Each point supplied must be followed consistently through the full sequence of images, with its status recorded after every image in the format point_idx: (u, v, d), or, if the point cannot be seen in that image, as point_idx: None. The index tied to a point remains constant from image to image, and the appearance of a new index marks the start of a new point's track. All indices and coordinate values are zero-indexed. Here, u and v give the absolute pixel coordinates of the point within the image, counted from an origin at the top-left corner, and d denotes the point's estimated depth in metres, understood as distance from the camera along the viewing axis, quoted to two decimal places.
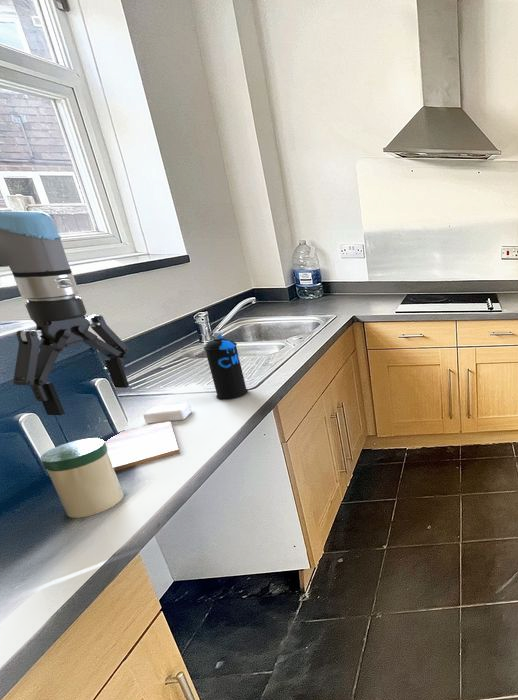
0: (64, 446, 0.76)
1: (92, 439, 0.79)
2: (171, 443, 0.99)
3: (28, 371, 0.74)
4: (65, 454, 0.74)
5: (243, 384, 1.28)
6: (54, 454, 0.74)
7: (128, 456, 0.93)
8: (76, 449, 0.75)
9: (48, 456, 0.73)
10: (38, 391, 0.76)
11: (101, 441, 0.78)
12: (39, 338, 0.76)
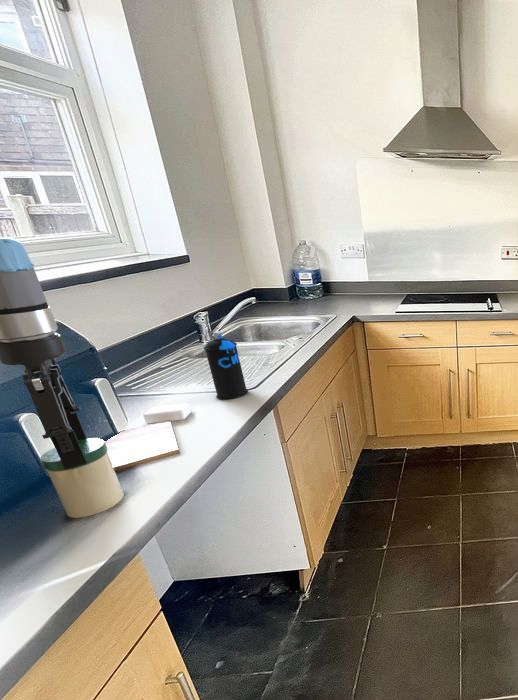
0: None
1: (92, 439, 0.79)
2: (171, 443, 0.99)
3: None
4: None
5: (243, 384, 1.28)
6: (54, 454, 0.74)
7: (128, 456, 0.93)
8: None
9: (48, 457, 0.73)
10: None
11: (101, 441, 0.78)
12: None
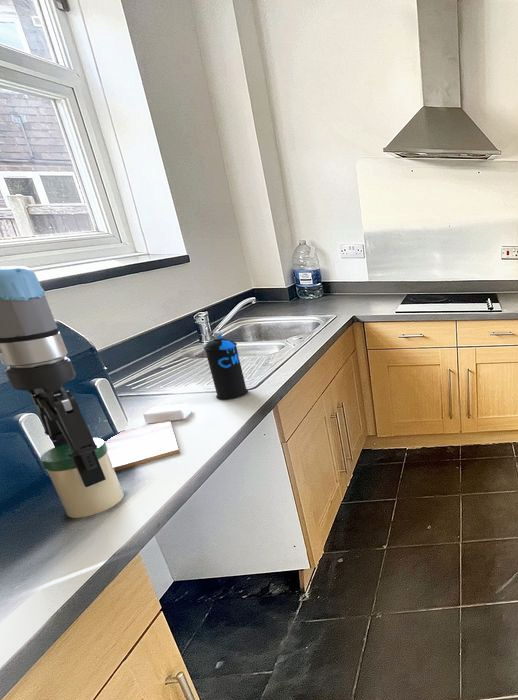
0: (58, 448, 0.75)
1: None
2: (171, 443, 0.99)
3: (42, 423, 0.76)
4: (69, 453, 0.74)
5: (243, 384, 1.28)
6: (55, 455, 0.73)
7: (128, 456, 0.93)
8: None
9: (50, 458, 0.72)
10: None
11: (99, 439, 0.79)
12: None
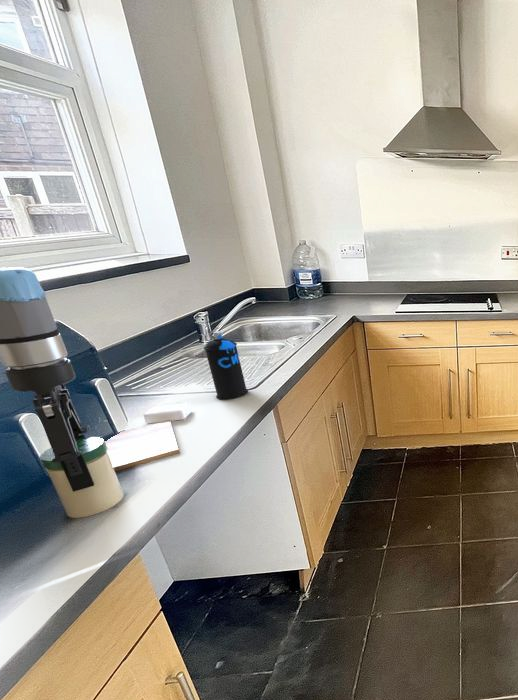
0: (51, 455, 0.73)
1: None
2: (171, 443, 0.99)
3: None
4: (83, 448, 0.75)
5: (243, 384, 1.28)
6: None
7: (128, 456, 0.93)
8: None
9: None
10: None
11: None
12: None
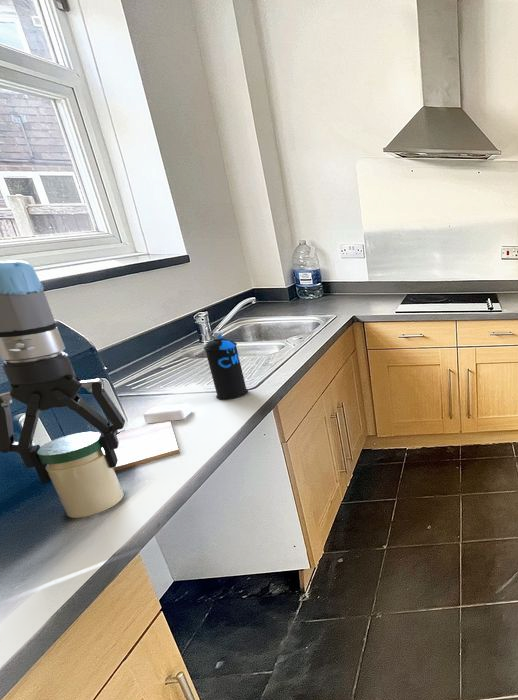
0: (74, 447, 0.73)
1: (44, 453, 0.72)
2: (171, 443, 0.99)
3: None
4: (80, 438, 0.77)
5: (243, 384, 1.28)
6: (88, 439, 0.76)
7: (128, 456, 0.93)
8: (68, 442, 0.75)
9: (94, 437, 0.77)
10: None
11: (40, 448, 0.73)
12: (2, 404, 0.68)
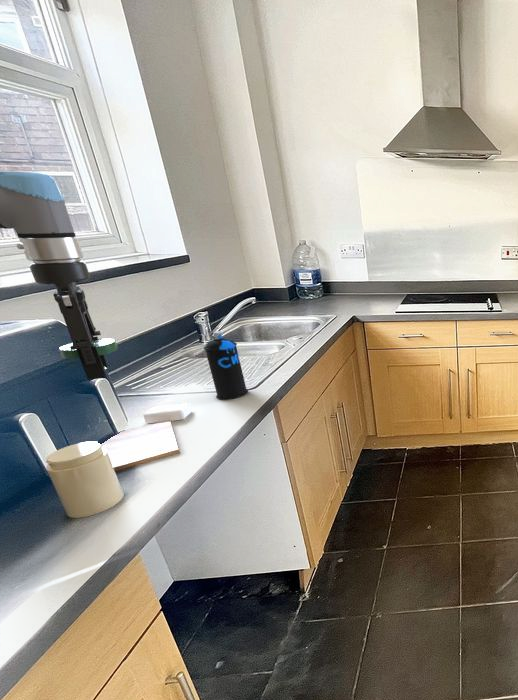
0: (69, 347, 0.82)
1: None
2: (171, 443, 0.99)
3: None
4: (96, 344, 0.85)
5: (243, 384, 1.28)
6: None
7: (128, 456, 0.93)
8: None
9: None
10: None
11: None
12: None
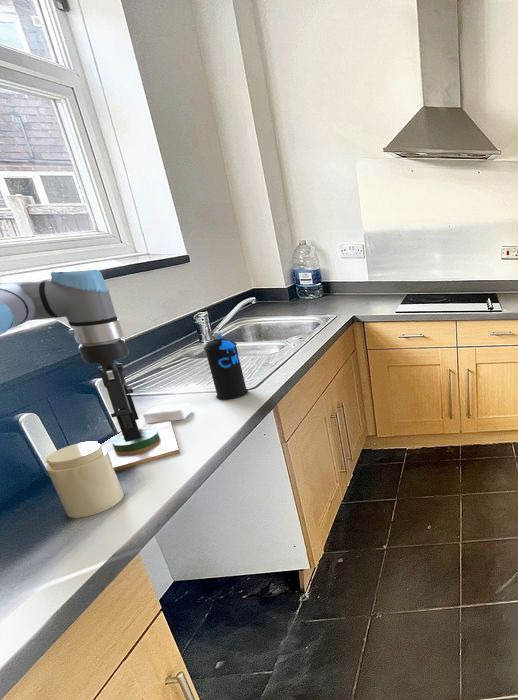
0: (120, 441, 0.96)
1: (122, 435, 0.99)
2: (171, 443, 0.99)
3: None
4: (142, 436, 0.98)
5: (243, 384, 1.28)
6: (134, 440, 0.96)
7: (128, 456, 0.93)
8: None
9: (136, 441, 0.96)
10: None
11: None
12: None
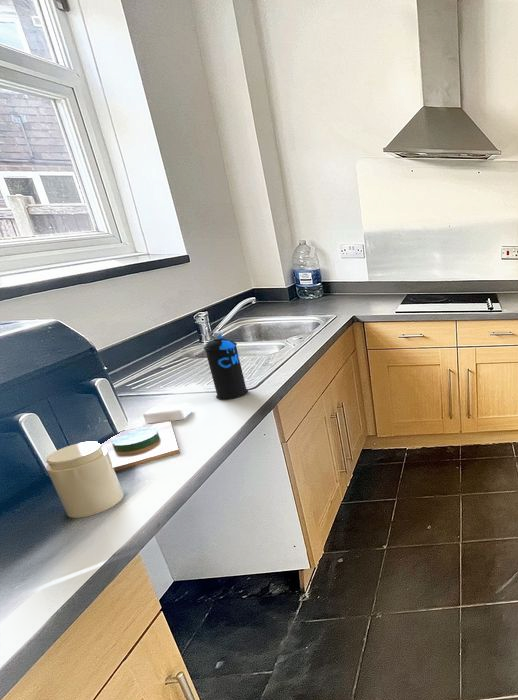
0: (120, 441, 0.96)
1: (122, 435, 0.99)
2: (171, 443, 0.99)
3: None
4: (142, 436, 0.98)
5: (243, 384, 1.28)
6: (134, 440, 0.96)
7: (128, 456, 0.93)
8: (137, 435, 0.99)
9: (136, 441, 0.96)
10: None
11: (134, 430, 1.01)
12: None
